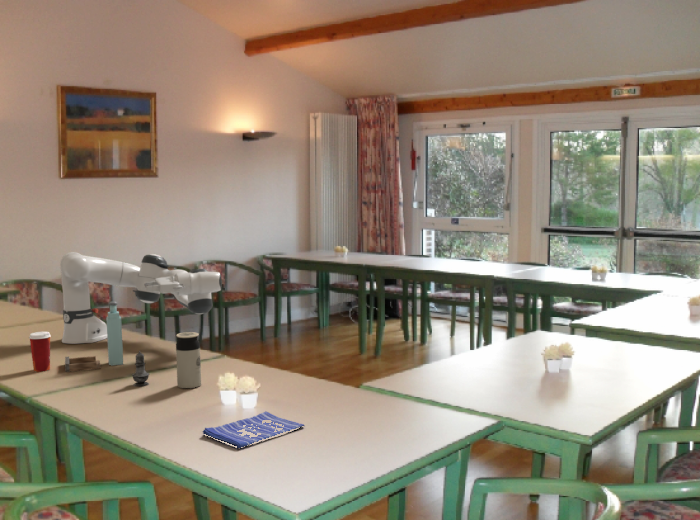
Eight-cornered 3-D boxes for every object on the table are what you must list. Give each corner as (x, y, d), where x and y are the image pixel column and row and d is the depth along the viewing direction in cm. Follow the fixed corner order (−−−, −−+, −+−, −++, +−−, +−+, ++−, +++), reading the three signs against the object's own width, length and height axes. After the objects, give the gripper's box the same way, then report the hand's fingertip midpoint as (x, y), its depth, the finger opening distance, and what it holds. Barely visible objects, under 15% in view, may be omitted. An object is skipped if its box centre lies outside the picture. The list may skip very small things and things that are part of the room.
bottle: (122, 361, 293) (119, 300, 290) (123, 364, 288) (120, 302, 286) (108, 362, 291) (105, 301, 289) (109, 365, 286) (106, 303, 284)
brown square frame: (99, 361, 294) (99, 353, 293) (100, 368, 282) (100, 360, 282) (65, 364, 289) (65, 356, 289) (65, 372, 278) (65, 364, 277)
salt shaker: (134, 387, 255) (132, 353, 254) (130, 383, 261) (129, 349, 259) (151, 385, 258) (150, 351, 257) (147, 381, 263) (146, 348, 262)
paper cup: (57, 368, 283) (55, 332, 281) (41, 373, 276) (39, 336, 274) (42, 366, 286) (40, 330, 285) (25, 371, 279) (23, 334, 278)
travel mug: (172, 387, 255) (170, 335, 253) (186, 381, 262) (184, 331, 260) (192, 390, 252) (190, 337, 250) (205, 383, 259) (203, 332, 257)
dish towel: (199, 437, 207) (199, 427, 206) (266, 417, 224) (265, 408, 223) (238, 452, 195) (238, 442, 195) (305, 429, 212) (305, 420, 212)
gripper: (185, 295, 287) (148, 298, 282) (178, 288, 306) (143, 291, 301) (185, 279, 286) (147, 282, 281) (177, 273, 305) (142, 275, 300)
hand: (145, 286), depth 291 cm, fingers open, 8 cm apart
